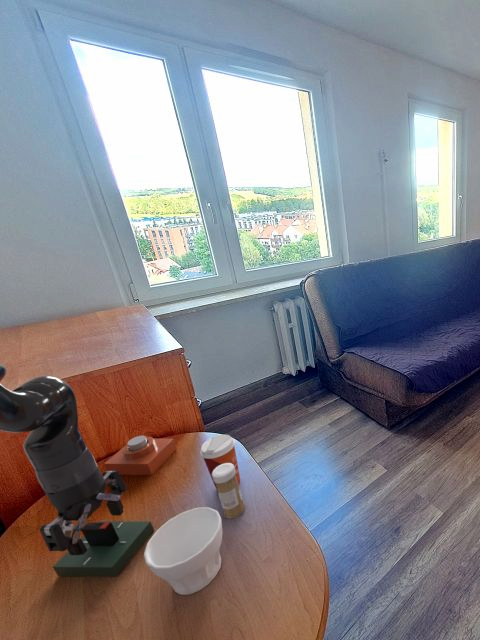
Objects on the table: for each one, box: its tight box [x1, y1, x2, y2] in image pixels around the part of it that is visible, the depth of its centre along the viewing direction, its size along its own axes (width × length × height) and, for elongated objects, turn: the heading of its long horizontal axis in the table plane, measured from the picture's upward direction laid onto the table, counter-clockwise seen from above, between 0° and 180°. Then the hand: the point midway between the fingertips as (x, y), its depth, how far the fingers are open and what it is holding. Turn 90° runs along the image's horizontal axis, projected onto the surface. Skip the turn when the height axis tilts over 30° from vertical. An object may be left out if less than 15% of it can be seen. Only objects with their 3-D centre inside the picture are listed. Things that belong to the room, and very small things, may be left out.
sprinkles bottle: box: [211, 463, 246, 520], centre depth 79 cm, size 5×5×13 cm
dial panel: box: [52, 520, 155, 578], centre depth 72 cm, size 12×10×3 cm
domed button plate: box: [103, 436, 178, 476], centre depth 95 cm, size 12×10×6 cm
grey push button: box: [126, 435, 148, 451], centre depth 94 cm, size 4×4×2 cm
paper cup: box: [199, 433, 241, 491], centre depth 87 cm, size 8×8×14 cm
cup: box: [143, 507, 223, 596], centre depth 67 cm, size 12×12×11 cm
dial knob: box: [81, 522, 119, 546], centre depth 70 cm, size 5×2×5 cm, turn 90°
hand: (100, 532), depth 70 cm, fingers open, 8 cm apart
